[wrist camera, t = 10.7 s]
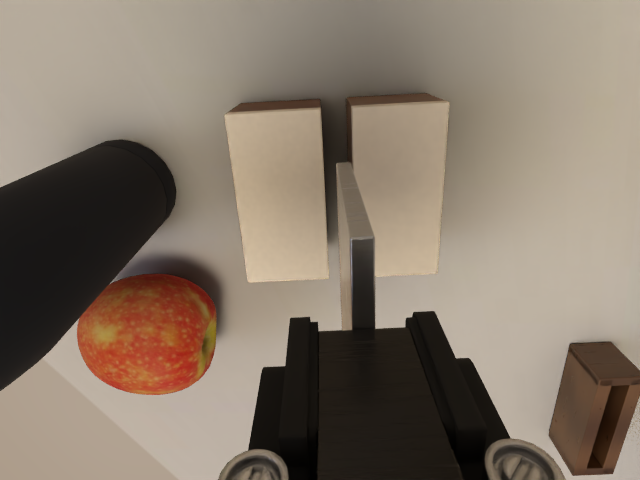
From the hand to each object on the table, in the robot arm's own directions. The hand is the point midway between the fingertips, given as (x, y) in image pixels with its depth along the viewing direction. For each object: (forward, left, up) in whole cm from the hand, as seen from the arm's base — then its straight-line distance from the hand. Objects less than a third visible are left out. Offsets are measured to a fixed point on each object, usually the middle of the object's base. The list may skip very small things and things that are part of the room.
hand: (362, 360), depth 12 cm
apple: (+9, -13, -18) cm, 24 cm away
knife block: (+20, +20, -18) cm, 34 cm away
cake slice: (0, +3, -18) cm, 19 cm away
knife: (0, 0, -8) cm, 8 cm away
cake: (0, -3, -18) cm, 19 cm away
